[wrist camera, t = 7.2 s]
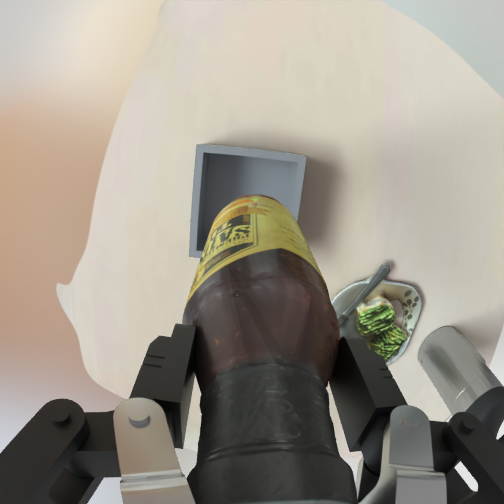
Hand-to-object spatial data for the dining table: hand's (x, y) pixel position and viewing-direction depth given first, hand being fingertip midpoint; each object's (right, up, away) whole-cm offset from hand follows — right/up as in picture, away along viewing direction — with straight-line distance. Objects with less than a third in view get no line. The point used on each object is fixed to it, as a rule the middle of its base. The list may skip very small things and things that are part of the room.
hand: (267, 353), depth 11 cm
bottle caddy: (-1, +10, +28) cm, 30 cm away
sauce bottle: (0, +5, +13) cm, 14 cm away
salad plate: (+18, -8, +36) cm, 41 cm away
